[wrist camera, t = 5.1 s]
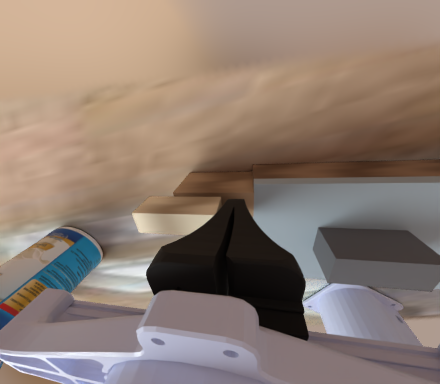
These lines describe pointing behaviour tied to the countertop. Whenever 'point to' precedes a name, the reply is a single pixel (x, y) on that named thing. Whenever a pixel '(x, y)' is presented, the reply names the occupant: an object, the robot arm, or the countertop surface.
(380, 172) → the brown angular frame
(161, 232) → the block
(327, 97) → the countertop surface
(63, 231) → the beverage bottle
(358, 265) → the lid
